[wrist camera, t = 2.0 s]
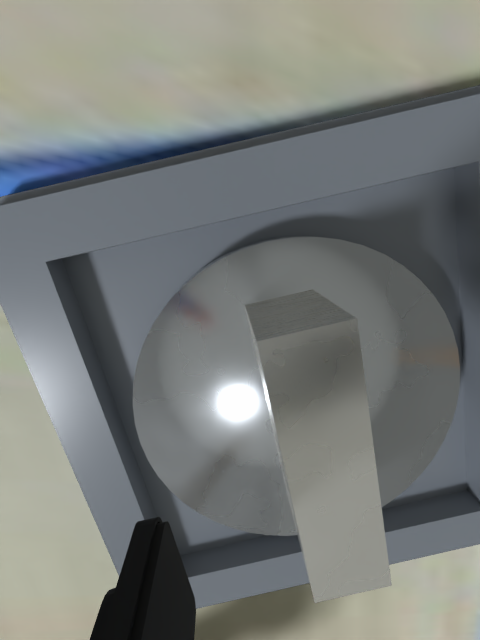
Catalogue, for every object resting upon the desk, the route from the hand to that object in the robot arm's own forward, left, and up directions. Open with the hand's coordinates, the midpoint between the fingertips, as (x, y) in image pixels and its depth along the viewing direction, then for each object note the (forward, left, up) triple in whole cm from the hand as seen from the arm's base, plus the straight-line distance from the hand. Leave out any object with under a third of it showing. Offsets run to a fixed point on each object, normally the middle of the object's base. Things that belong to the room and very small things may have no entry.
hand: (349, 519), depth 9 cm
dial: (-1, 0, -6) cm, 6 cm away
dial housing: (-1, 0, -8) cm, 8 cm away
